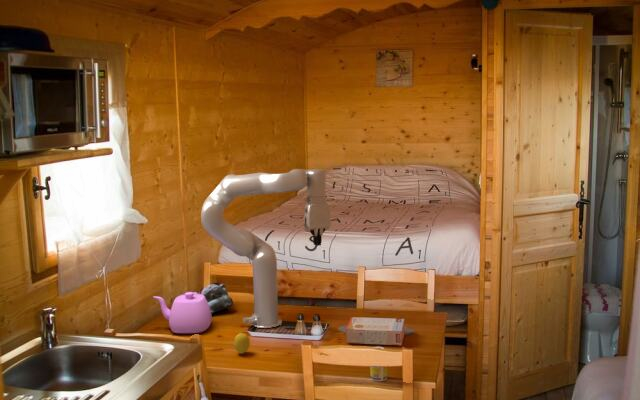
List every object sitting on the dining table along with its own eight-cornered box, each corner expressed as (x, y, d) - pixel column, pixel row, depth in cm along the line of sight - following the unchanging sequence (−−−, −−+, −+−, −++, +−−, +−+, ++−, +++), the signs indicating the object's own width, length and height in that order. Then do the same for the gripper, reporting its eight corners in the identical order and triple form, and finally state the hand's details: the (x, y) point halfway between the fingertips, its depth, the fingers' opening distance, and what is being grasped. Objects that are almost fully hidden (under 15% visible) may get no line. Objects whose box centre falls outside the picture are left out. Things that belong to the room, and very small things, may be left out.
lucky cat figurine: (199, 317, 293) (189, 286, 297) (203, 320, 305) (194, 290, 308) (233, 305, 295) (223, 275, 298) (236, 308, 306) (226, 279, 310)
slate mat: (364, 343, 258) (364, 342, 258) (337, 328, 276) (337, 327, 276) (414, 333, 269) (414, 331, 269) (386, 319, 286) (386, 317, 286)
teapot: (216, 319, 292) (214, 284, 289) (208, 336, 271) (206, 298, 269) (162, 320, 292) (160, 285, 290) (149, 337, 271) (147, 299, 269)
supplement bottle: (384, 374, 229) (384, 344, 228) (389, 381, 224) (389, 350, 222) (368, 376, 228) (368, 346, 227) (372, 382, 223) (372, 352, 221)
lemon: (234, 351, 253) (233, 330, 252) (250, 350, 254) (249, 329, 252) (234, 357, 248) (233, 335, 247) (249, 356, 248) (249, 334, 247)
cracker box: (345, 344, 258) (402, 346, 253) (345, 328, 257) (402, 330, 253) (351, 331, 271) (405, 333, 267) (351, 316, 270) (405, 318, 266)
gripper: (304, 202, 271) (305, 248, 274) (337, 199, 278) (338, 244, 281) (295, 200, 278) (296, 245, 281) (328, 197, 285) (329, 241, 288)
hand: (317, 244), depth 281 cm, fingers closed
